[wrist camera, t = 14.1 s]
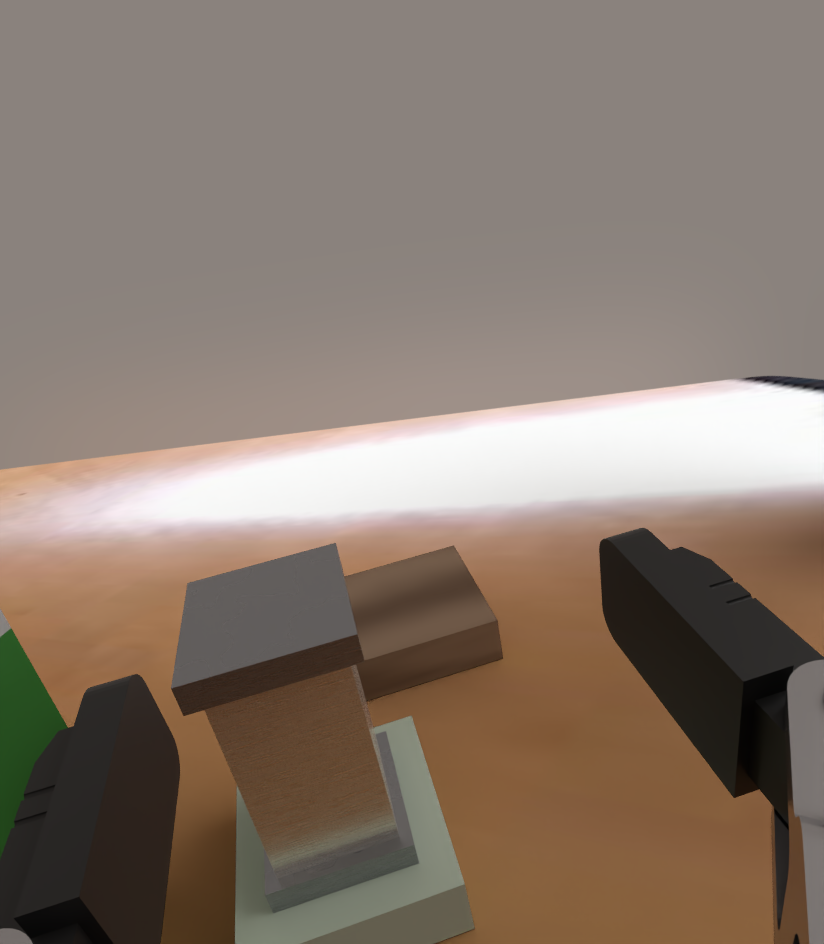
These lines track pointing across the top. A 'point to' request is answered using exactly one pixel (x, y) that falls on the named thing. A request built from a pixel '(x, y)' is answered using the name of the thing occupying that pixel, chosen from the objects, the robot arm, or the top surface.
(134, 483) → the top surface
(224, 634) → the grey square pedestal
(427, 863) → the green stand
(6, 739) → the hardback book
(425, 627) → the walnut stand
